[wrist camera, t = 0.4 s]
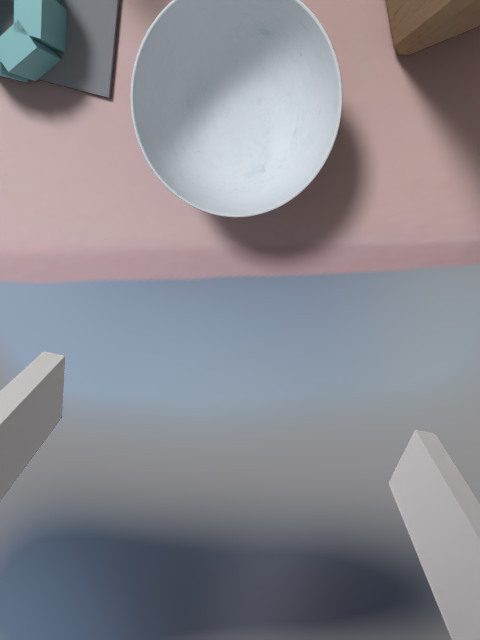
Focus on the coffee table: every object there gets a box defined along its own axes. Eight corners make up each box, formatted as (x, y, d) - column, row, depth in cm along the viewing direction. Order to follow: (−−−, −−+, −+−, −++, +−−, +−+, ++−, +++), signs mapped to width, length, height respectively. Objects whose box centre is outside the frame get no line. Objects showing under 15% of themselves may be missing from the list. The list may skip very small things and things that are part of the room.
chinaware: (175, 217, 38) (157, 230, 31) (137, 35, 32) (104, 0, 25) (329, 193, 37) (347, 201, 30) (317, -1, 31) (336, -48, 24)
